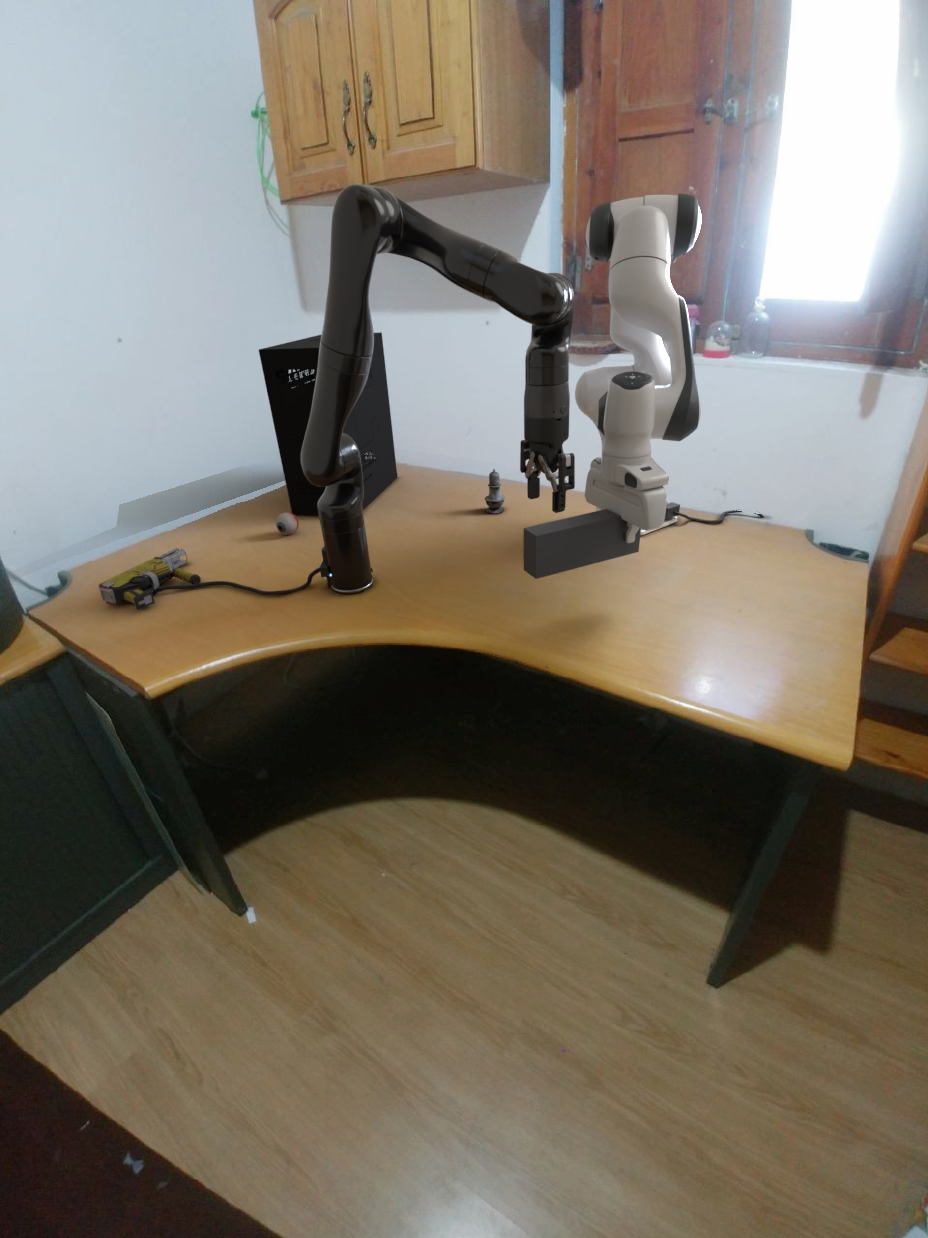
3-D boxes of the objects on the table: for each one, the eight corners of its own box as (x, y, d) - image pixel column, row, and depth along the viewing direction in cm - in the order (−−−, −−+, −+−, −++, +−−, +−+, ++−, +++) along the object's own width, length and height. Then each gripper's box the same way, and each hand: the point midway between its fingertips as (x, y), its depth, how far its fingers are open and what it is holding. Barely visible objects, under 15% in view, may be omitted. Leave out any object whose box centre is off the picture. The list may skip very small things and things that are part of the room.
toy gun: (224, 556, 146) (173, 545, 150) (148, 597, 126) (92, 584, 130) (226, 573, 148) (177, 563, 152) (152, 617, 128) (97, 603, 132)
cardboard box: (355, 516, 174) (330, 347, 152) (292, 514, 179) (258, 349, 156) (397, 477, 206) (381, 332, 183) (342, 476, 210) (320, 334, 188)
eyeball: (273, 537, 164) (268, 516, 161) (287, 528, 169) (282, 508, 166) (291, 539, 161) (286, 518, 158) (305, 530, 166) (301, 510, 163)
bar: (624, 544, 124) (627, 503, 119) (638, 552, 120) (642, 510, 116) (523, 570, 116) (523, 527, 111) (535, 579, 112) (535, 535, 108)
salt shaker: (503, 513, 170) (502, 471, 164) (483, 513, 171) (481, 471, 165) (506, 506, 175) (506, 465, 169) (486, 506, 176) (485, 465, 170)
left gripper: (506, 407, 105) (508, 498, 113) (549, 421, 93) (548, 520, 101) (543, 402, 107) (543, 490, 115) (590, 414, 96) (586, 512, 104)
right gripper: (578, 457, 119) (576, 523, 126) (647, 484, 103) (639, 558, 110) (605, 452, 121) (601, 517, 128) (676, 477, 105) (666, 550, 112)
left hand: (545, 504), depth 108 cm, fingers open, 8 cm apart
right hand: (619, 536), depth 119 cm, fingers closed on bar, 4 cm apart
